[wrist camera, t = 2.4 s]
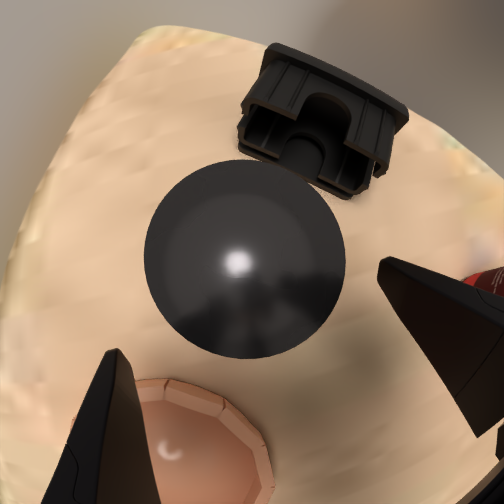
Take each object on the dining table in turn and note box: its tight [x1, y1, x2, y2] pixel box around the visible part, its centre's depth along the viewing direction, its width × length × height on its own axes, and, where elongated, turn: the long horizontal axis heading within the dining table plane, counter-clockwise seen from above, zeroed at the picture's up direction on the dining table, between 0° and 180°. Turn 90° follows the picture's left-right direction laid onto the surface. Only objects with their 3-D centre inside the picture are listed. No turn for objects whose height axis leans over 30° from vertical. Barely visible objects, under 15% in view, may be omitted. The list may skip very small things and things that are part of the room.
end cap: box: [237, 43, 409, 200], centre depth 18 cm, size 10×7×7 cm
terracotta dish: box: [70, 379, 275, 504], centre depth 14 cm, size 13×13×2 cm
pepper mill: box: [144, 160, 346, 359], centre depth 13 cm, size 5×5×11 cm
